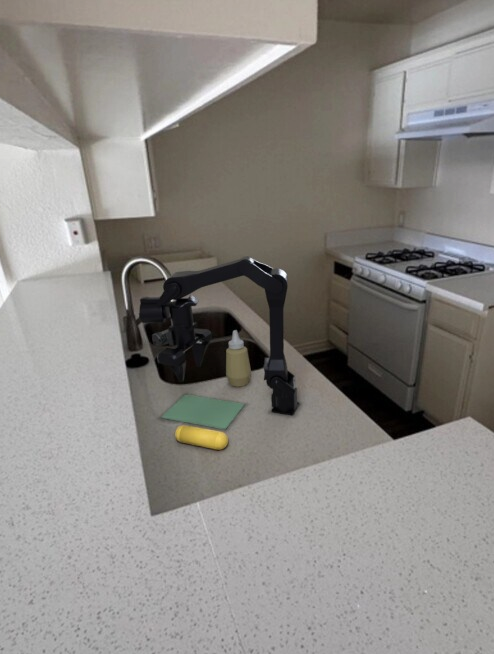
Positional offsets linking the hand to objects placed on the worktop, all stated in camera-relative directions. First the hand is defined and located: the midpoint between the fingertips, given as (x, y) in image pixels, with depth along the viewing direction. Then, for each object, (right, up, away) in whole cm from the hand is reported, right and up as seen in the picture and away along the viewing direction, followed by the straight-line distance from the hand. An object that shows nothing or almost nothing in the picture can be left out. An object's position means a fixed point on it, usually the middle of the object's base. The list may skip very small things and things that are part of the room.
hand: (190, 373), depth 116 cm
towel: (+3, -11, +4) cm, 12 cm away
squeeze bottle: (+12, -4, +18) cm, 23 cm away
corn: (+5, -17, -11) cm, 21 cm away
